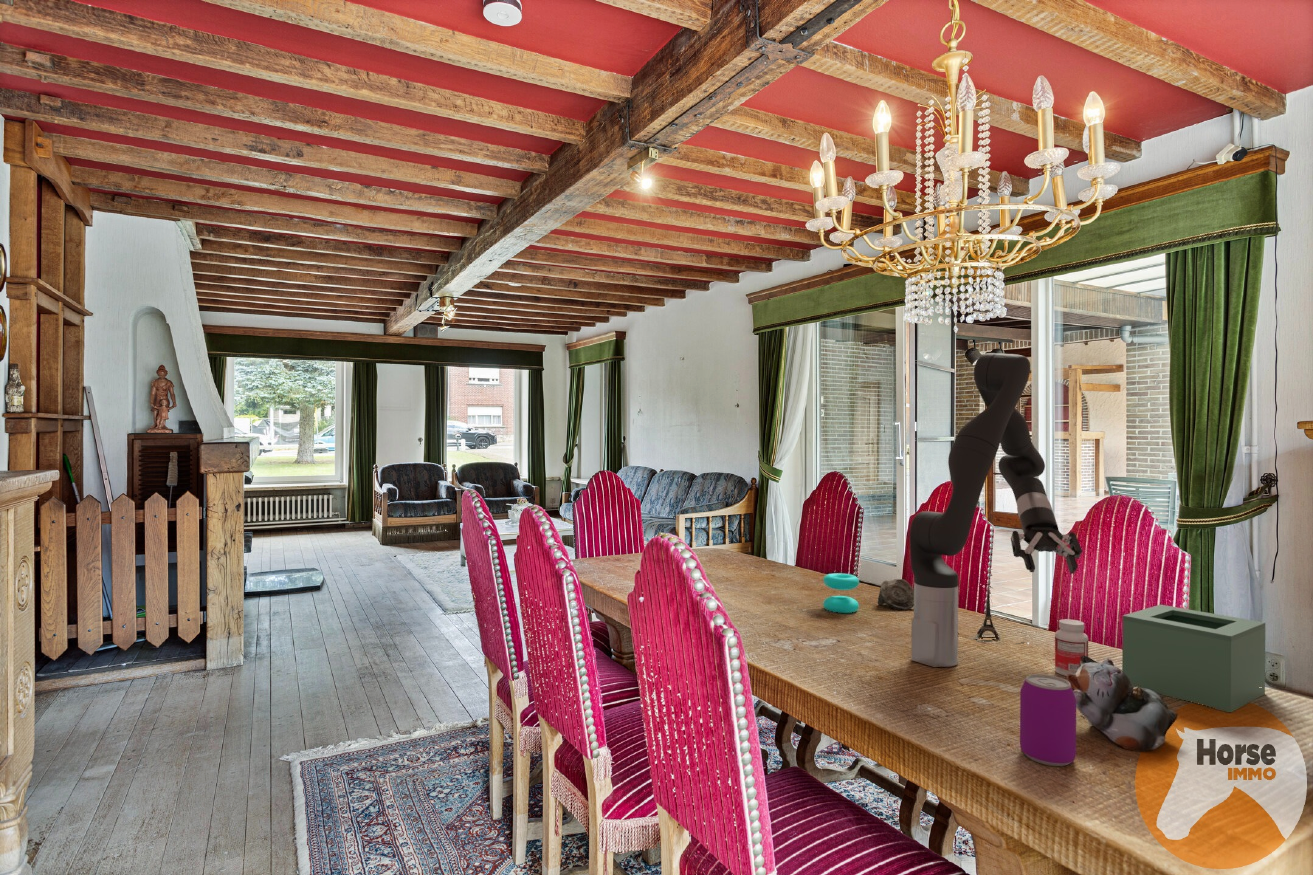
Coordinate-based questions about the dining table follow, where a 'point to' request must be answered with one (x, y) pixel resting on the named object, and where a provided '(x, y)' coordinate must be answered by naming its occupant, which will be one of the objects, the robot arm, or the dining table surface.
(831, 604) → the donuts
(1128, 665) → the box
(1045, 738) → the beverage can
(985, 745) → the dining table surface
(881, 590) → the fossil
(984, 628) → the eiffel tower figurine
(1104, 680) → the lucky cat figurine
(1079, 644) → the pill bottle
